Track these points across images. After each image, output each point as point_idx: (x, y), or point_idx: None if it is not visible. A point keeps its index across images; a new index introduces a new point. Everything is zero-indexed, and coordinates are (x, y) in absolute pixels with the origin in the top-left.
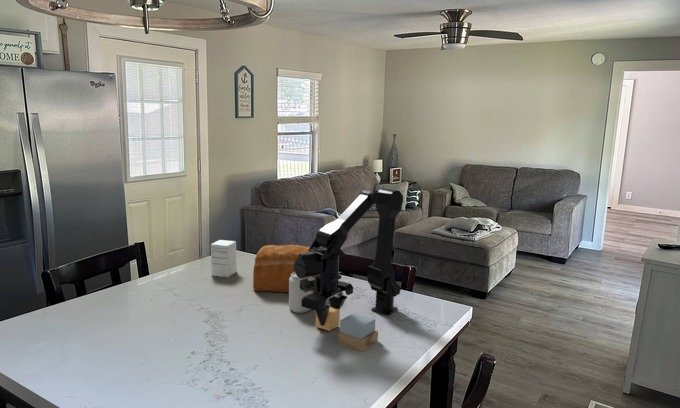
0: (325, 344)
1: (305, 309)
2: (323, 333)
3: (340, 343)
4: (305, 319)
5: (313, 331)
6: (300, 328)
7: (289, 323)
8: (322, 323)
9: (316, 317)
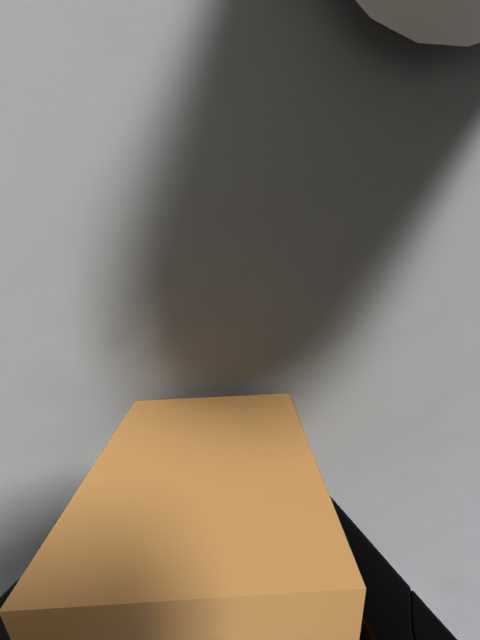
0: (5, 579)
1: (394, 6)
2: None
3: None
4: (222, 187)
5: (79, 418)
6: (28, 298)
7: (10, 109)
8: None
9: (88, 486)
